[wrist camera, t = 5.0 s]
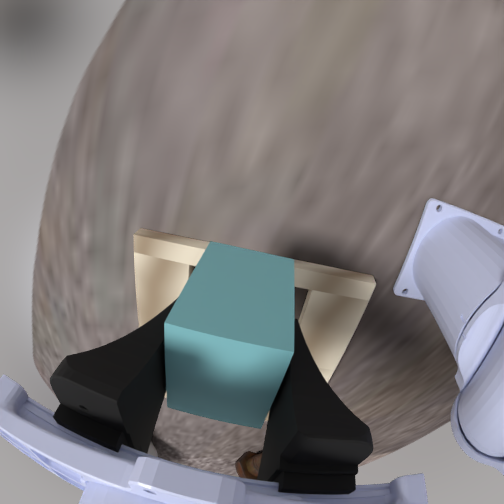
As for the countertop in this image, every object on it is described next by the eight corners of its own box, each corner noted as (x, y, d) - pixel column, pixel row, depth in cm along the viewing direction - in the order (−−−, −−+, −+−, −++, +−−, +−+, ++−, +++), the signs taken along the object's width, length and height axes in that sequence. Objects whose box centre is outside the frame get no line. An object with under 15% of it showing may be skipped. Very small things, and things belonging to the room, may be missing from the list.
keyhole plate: (372, 275, 21) (380, 294, 19) (302, 416, 30) (301, 434, 28) (140, 228, 22) (125, 241, 19) (151, 384, 31) (144, 400, 29)
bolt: (323, 411, 33) (257, 450, 39) (296, 417, 30) (230, 455, 36) (341, 448, 29) (269, 481, 35) (315, 459, 26) (243, 488, 32)
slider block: (294, 259, 14) (293, 352, 8) (271, 336, 16) (260, 428, 11) (210, 241, 14) (164, 322, 9) (201, 320, 16) (167, 407, 11)
